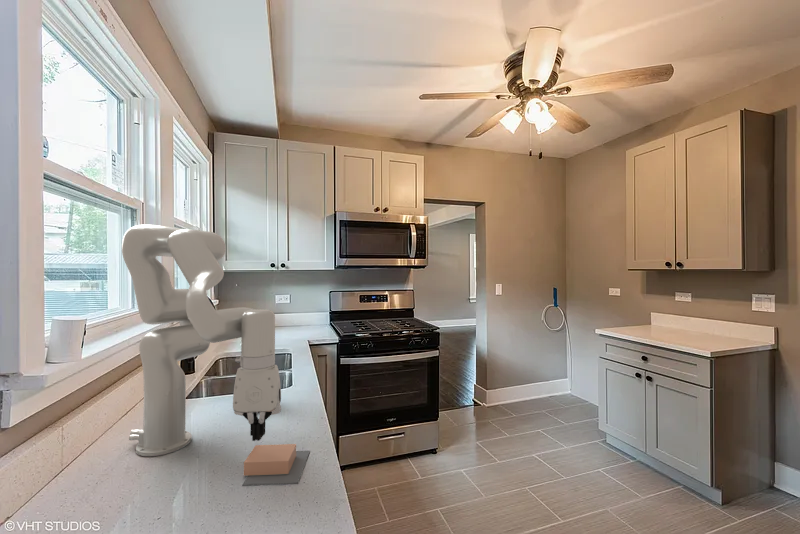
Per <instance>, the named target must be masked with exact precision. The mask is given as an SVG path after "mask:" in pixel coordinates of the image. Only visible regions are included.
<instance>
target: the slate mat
mask: <svg viewBox="0 0 800 534" xmlns="http://www.w3.org/2000/svg"><path fill="white" fill-rule="evenodd" d="M310 452H311V450H310V449H309V450H307V449H306V450H296V458H295V460H294V462H293V465H292V467H291V469H290V471H289V474H286V475H260V476H246V478H245V480H244V481H243V482H242V484H241V485H242V487H247V486H248V487H249V486H268V485H269V486H270V485H271V486H274V485H296V484H297V485H298V484H299V482H300V479H301V476H302V474H303V471H304V468H305V465H306V463H307V462H308V461H307V460H308V457H309V455H310Z"/></svg>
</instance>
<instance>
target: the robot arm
mask: <svg viewBox="0 0 800 534" xmlns="http://www.w3.org/2000/svg"><path fill="white" fill-rule="evenodd" d="M225 243H226V242H225V241H224V240H223V238H222V236H221V235H219V234H218V233H215V232H212V231H208V230H207V231H205V230H198V229H190V228H189V229H188V228H179V227H171V226H164V225H159V224H158V225H156V224H139V225H138V224H137V225H134V226H132V227H130V228H128V229H127V230H126V231H125V232H124V234H123V238H122V241H121V254H122V258H123V261H124V264H125V265H126V267H127V270H128V271H129V273H130V277H131V280H132V284H133V285H132V286H133V289H134V293H135V294H134V295H135V300H136V304H137V309H138V313H139V316H140V319H141V320H142V322H143V323H145V324H147V325H153V326H154V325H163V324H170V323H171V324H172V323H178V324H179V325H175V326H170V327H162V328H158V329H157V328H156V329H154V330H152V331H149V332H148V333H146V334H145V335H143V337H142V338H141V340H140V342H139V345H138V347H139V348H138V350H139V351H138V352H139V356H140V360H141V365H142V373H143V374H142V375H143V428H142V429H140V428H138V429H137V428H136V429H135V428H132V429H131V431H130V434H129V437H128V441H136V440H137V441H138V443H137V444H136V447H135V453H136V454H137V455H138V456H143V457H156V456H163V455H167V454H170V453H173V452H174V453H175V452H176V451H178V450H181V449H183V448H185V447H186V446H188V445H189V444H190V443H191V441H192V437H193V435H192V433H191V432H190V431H187V430H186V413H187V412H186V402H187V401H186V400H187V399H186V395H187V392H186V391H187V389H186V386H187V385H186V384H187V383H186V382H187V381H186V379H187V378H186V375H185V372H184V370H183V369H182V367H181V366H180V365H179V363H178V362H179V361H182V360H185V359H191V358H194V357H198V356H201V355H203V354H205V352H207V351H208V349H209V347H210V344H211V343H221V342H225V341H229V340H235V339H238V338H241V342H240V344H241V345H240V346H241V351H240V352H241V354H240V356H236V357H235V358H234V361H235V363H239V366H240V367H239V368H237V370H236V374H235V378H234V379H235V381H234V386H233V393H232V394H233V396H232V409H233V413H234V415H237V416H242V417H244V418H245V419H246V420H247V421H248V424H249V425H250V427H249V428H250V437H252V438H251V440H252V442H255V441H256V442H257V441H258V442H259V441H261V439H262V438H263V436H265V434H266V421H267V420H268V418H269V417H270V416H273V415H277V414H280V413H281V411H282V406H281V403H282V402H281V401H282V387H281V378H280V370H279V368H278V365H277V364H276V315H275V313H274V311H273V310H270V309H254V308H251V307H245V306H244V307H243V306H242V307H229V308H222V309H215V307H214V306H213V304H212V303H211V301H210V298H209V296H208V293H207V291H208V290H210V289H212V288H214V287H215V286H217V285H218V284H219V283H220V282H221V281H222V280H223V278H224V274H225V271H224V269H223V268H222V266H221V264H220V263H219V262H218V261H220V260H221V259H222V258H224V256H225V254H226V249H227V248H226V244H225ZM157 257H169V258H171V257H173V259H174V261H175V263H176V264H177V266H178V268H179V270H180V272H181V273H182V275H183V276H184V278H185V280H186V281H187V283H188V285H189V287H188V288H174V287H173V285H172V282H171V278H170V277H171V276H170V273H169V271H168V270H167V268H166V267H165V265H164V264H162V263H161V262H160V261H159V260H158V259H157ZM258 413H259V417H258Z"/></svg>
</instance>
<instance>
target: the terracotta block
mask: <svg viewBox="0 0 800 534" xmlns="http://www.w3.org/2000/svg"><path fill="white" fill-rule="evenodd" d="M296 451H297V443H285V444H284V443H283V444H281V443H280V444H279V443H278V444H256V445H255V446H254V447H253V448H252V450H251V451H250V453H249V454H248V455H247V457H246V458H245V460H244V462H243V477H247V476H260V475H286V474H289V471H290V469H291V467H292V465H293V462H294V460H295V458H296Z"/></svg>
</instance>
